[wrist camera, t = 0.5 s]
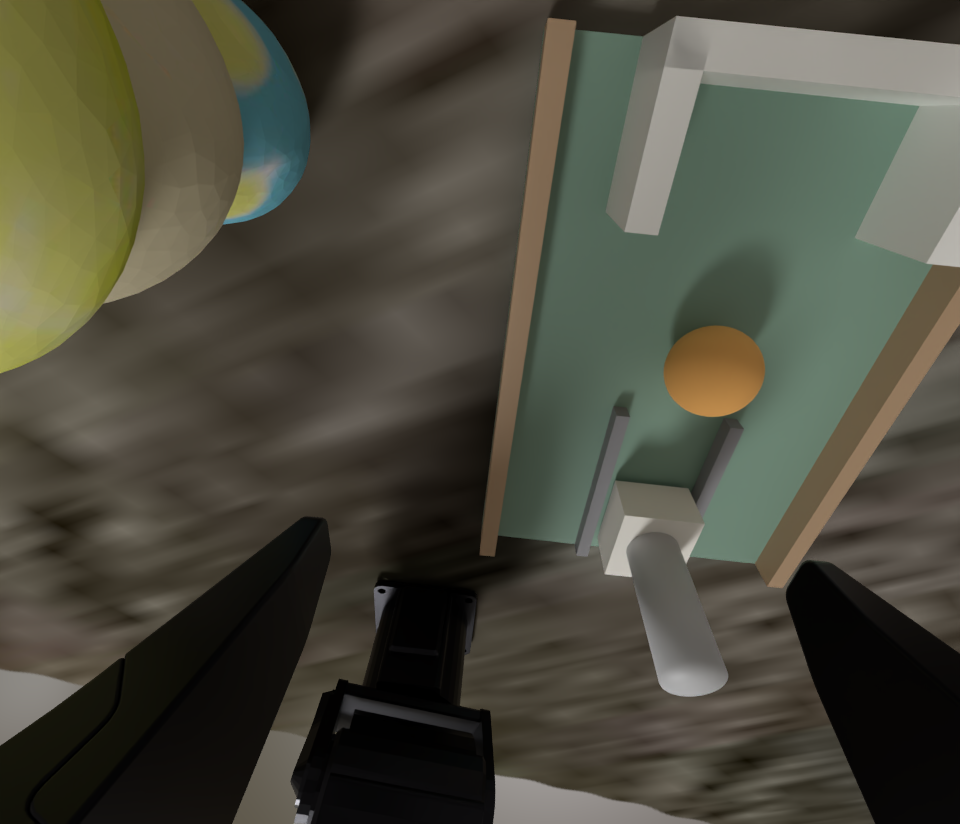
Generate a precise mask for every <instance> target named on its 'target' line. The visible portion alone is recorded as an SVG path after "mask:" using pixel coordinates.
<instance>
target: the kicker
mask: <svg viewBox="0 0 960 824" xmlns="http://www.w3.org/2000/svg"><path fill="white" fill-rule="evenodd" d="M704 525H705V523H704V521H703V519H702V517H701V514H700V512H699V510H698V508H697V506H696V504H695V502H694V499H693V497H692V495H691V493H690V491H689V489H688V488H680V487H671V486H662V485H653V484H643V483H634V482H625V481H616V480H615V483H614V486H613V489H612V492H611V496H610V499H609V502H608V505H607V508H606V512H605V515H604V518H603V521H602V524H601V527H600V531H599V534H598V537H597V538H598V543H599V548H600V553H601V558H602V563H603V569H604V574H609V575H618V576H627V577H632V578H633V582H634V586H635V590H636V594H637V598H638V602H639V606H640V610H641V614H642V617H643V621H644V625H645V629H646V633H647V637H648V641H649V645H650V649H651V653H652V657H653V661H654V665H655V668H656V672H657V676H658V680H659V684H660V686H661V687H662V688H663V689H664V690H665V691H667V692H669V693H671V694H674V695H679V696H701V695H705V694H709V693H712V692H714V691H716V690H718V689H720V688H721V687H722V686H724V685H725V683H726V682H727V680H728V672H727V670H726V667H725V665H724V662H723V659H722V657H721V654H720V652H719V649H718V646H717V644H716V641H715V638H714V636H713V633H712V631H711V628H710V625H709V623H708V620H707V618H706V615H705V612H704V610H703V607H702V604H701V602H700V599H699V597H698V594H697V591H696V589H695V586H694V584H693V581H692V578H691V576H690V573H689V570H688V568H687V565H686V563H687V561H688V559H689V556H690V554H691V552H692V550H693V548H694V546H695V544H696V542H697V540H698V538H699V536H700V534H701V531H702V529H703V527H704Z"/></svg>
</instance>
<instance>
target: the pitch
mask: <svg viewBox="0 0 960 824" xmlns="http://www.w3.org/2000/svg"><path fill="white" fill-rule="evenodd" d="M575 28H576V21H574V20H564V19H554V18H548V19H547V22H546V25H545V28H544V32H543V40H542V48H541V56H540V64H539V72H538V80H537V88H536V96H535V104H534V112H533V120H532V128H531V136H530V144H529V152H528V160H527V168H526V176H525V184H524V192H523V200H522V208H521V216H520V224H519V232H518V240H517V248H516V256H515V264H514V272H513V280H512V288H511V296H510V304H509V312H508V320H507V328H506V336H505V344H504V352H503V360H502V368H501V376H500V384H499V392H498V400H497V408H496V416H495V424H494V432H493V440H492V448H491V456H490V464H489V472H488V480H487V488H486V496H485V504H484V512H483V520H482V530H481V543H480V555H484V556H493V557H495V551H496V544H497V538H498V536H507V537H516V538H525V539H534V540H543V541H553V542H562V543H571V544H575V550H576V555H578V556H588V553H589V549H590V546H598V547H599V543H598V538H597V537H598V534H599V531H600V527H601V524H602V521H603V518H604V515H605V512H606V508H607V505H608V502H609V499H610V496H611V492H612V489H613V486H614V483H615V480H616V481H625V482H634V483H643V484H653V485H662V486H671V487H680V488H688V489H689V491H690V493H691V495H692V497H693V499H694V502H695V504H696V506H697V508H698V510H699V512H700V514H701V517H702V519H703V521H704V523H705V525H704V527H703V529H702V531H701V534H700V536H699V538H698V540H697V542H696V544H695V546H694V548H693V550H692V552H691V554H690V557H699V558H709V559H718V560H727V561H736V562H745V563H754V564H755V565H756V567H757V568H758V570H759V572H760V574H761V576H762V578H763V580H764V582H765V583H766V585H767V587H777V588H783V586H784V585H785V583H786V582H787V580H788V579H789V577H790V576H791V574H792V573H793V571H794V570H795V569H796V567H797V566H798V564H799V563H800V561H801V560H802V558H803V557H804V555H805V554H806V552H807V551H808V549H809V548H810V546H811V545H812V543H813V542H814V540H815V539H816V537H817V536H818V534H819V533H820V531H821V530H822V528H823V527H824V525H825V524H826V522H827V521H828V519H829V518H830V516H831V515H832V513H833V512H834V510H835V509H836V507H837V506H838V504H839V503H840V501H841V500H842V498H843V497H844V495H845V494H846V492H847V491H848V489H849V488H850V486H851V485H852V483H853V482H854V481H855V479H856V478H857V476H858V475H859V473H860V472H861V470H862V469H863V467H864V466H865V464H866V463H867V461H868V460H869V458H870V457H871V455H872V454H873V452H874V451H875V449H876V448H877V446H878V445H879V443H880V442H881V440H882V439H883V437H884V436H885V434H886V433H887V431H888V430H889V428H890V427H891V425H892V424H893V422H894V421H895V419H896V418H897V416H898V415H899V413H900V412H901V410H902V409H903V407H904V406H905V404H906V403H907V401H908V400H909V398H910V397H911V395H912V394H913V393H914V391H915V390H916V388H917V387H918V385H919V384H920V382H921V381H922V379H923V378H924V376H925V375H926V373H927V372H928V370H929V369H930V367H931V366H932V364H933V363H934V361H935V360H936V358H937V357H938V355H939V354H940V352H941V351H942V349H943V348H944V346H945V345H946V343H947V342H948V340H949V339H950V337H951V336H952V334H953V333H954V331H955V330H956V328H957V327H958V325H959V324H960V267H953V266H944V265H934V264H926V263H923V262H920V261H917V260H915V259H912V258H909V257H906V256H903V255H901V254H898V253H895V252H892V251H889V250H887V249H884V248H881V247H878V246H875V245H873V244H870V243H867V242H864V241H862V240H859V239H856V238H855V236H856V234H857V232H858V230H859V228H860V226H861V224H862V222H863V219H864V217H865V215H866V213H867V211H868V209H869V207H870V205H871V203H872V201H873V199H874V197H875V195H876V193H877V191H878V189H879V187H880V185H881V183H882V181H883V179H884V177H885V175H886V173H887V171H888V169H889V167H890V165H891V163H892V161H893V159H894V157H895V155H896V153H897V150H898V148H899V146H900V144H901V142H902V140H903V138H904V136H905V134H906V132H907V130H908V128H909V126H910V124H911V122H912V120H913V118H914V116H915V114H916V112H917V110H918V108H919V106H915V105H905V104H895V103H886V102H876V101H866V100H857V99H847V98H837V97H827V96H818V95H808V94H798V93H788V92H779V91H769V90H759V89H750V88H740V87H730V86H720V85H711V84H701V83H700V86H699V89H698V93H697V96H696V100H695V104H694V107H693V111H692V114H691V118H690V122H689V125H688V129H687V132H686V136H685V140H684V143H683V147H682V150H681V154H680V158H679V161H678V165H677V168H676V172H675V176H674V179H673V183H672V186H671V190H670V194H669V197H668V201H667V205H666V208H665V212H664V215H663V219H662V223H661V226H660V230H659V233H658V236H657V235H648V234H638V233H629V232H624V231H623V230H622V229H621V228H620V227H619V226H618V225H617V224H616V223H615V222H614V220H613V219H612V218H611V217H610V216H609V215H608V214H607V213H606V212H605V211H606V207H607V202H608V198H609V193H610V188H611V184H612V179H613V174H614V170H615V165H616V160H617V156H618V151H619V146H620V142H621V137H622V132H623V128H624V123H625V118H626V114H627V109H628V104H629V100H630V95H631V90H632V86H633V81H634V76H635V72H636V67H637V62H638V58H639V53H640V48H641V44H642V39H643V37H642V36H633V35H623V34H613V33H603V32H593V31H584V30H575ZM715 325H716V326H726V327H731V328H734V329H737V330H739V331H741V332H743V333H744V334H746V335H747V336H749V337H750V338H751V339H752V340H753V341H754V342H755V343H756V344H757V346H758V347H759V349H760V351H761V353H762V355H763V358H764V363H765V376H764V381H763V384H762V386H761V388H760V390H759V392H758V394H757V395H756V396H755V398H754V399H753V400H752V401H751V402H750V403H749V404H748V405H746V406H745V407H744V408H742V409H740V410H739V411H736V412H734V413H732V414H729V415H725V416H719V417H706V416H700V415H697V414H693V413H691V412H689V411H687V410H685V409H684V408H682V407H681V406H680V405H678V404H677V403H676V402H675V401H674V400H673V398H672V397H671V396H670V394H669V392H668V390H667V388H666V385H665V382H664V364H665V360H666V358H667V355H668V353H669V351H670V350H671V348H672V347H673V345H674V344H675V343H676V342H677V341H678V340H679V339H680V338H681V337H683V336H684V335H686V334H687V333H689V332H691V331H693V330H695V329H698V328H701V327H706V326H715Z"/></svg>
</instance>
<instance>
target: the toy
mask: <svg viewBox="0 0 960 824" xmlns="http://www.w3.org/2000/svg"><path fill="white" fill-rule="evenodd" d="M309 149H310V119H309V112H308V107H307V102H306V98H305V95H304V92H303V89H302V87H301V84H300V81H299V79H298V77H297V74H296V72H295V70H294V68H293V66H292V64H291V62H290V60H289V58H288V56H287V54H286V53H285V51H284V50H283V48H282V47H281V45H280V43H279V42H278V40H277V39H276V37H275V36H274V34H273V33H272V32H271V31H270V29H269V28H268V27H267V26H266V25H265V24H264V22H263V21H262V20H261V19H260V18H259V17H258V16H257V15H256V14H255V13H254V12H253V11H252V10H251V9H250V8H249V7H248V6H247V5H246V4H245V3H244V2H243V1H241V0H0V373H2V372H5V371H8V370H11V369H14V368H17V367H20V366H22V365H24V364H26V363H28V362H31V361H33V360H35V359H37V358H39V357H41V356H43V355H45V354H46V353H48V352H50V351H51V350H53V349H54V348H56V347H58V346H59V345H61V344H62V343H63V342H64V341H65V340H67V339H68V338H69V337H70V336H71V335H73V334H74V333H75V332H76V331H77V330H78V329H80V328H81V327H82V326H83V325H84V324H86V323H87V322H88V321H89V320H90V318H91V317H92V316H93V315H94V314H95V312H96V311H97V310H98V309H99V308H100V307H101V305H102V304H103V303H108V302H112V301H115V300H118V299H121V298H124V297H127V296H130V295H133V294H137V293H139V292H141V291H143V290H145V289H147V288H149V287H152V286H154V285H156V284H158V283H160V282H162V281H164V280H165V279H167V278H168V277H170V276H171V275H173V274H174V273H176V272H177V271H179V270H180V269H182V268H183V267H184V266H186V265H187V264H188V263H189V262H190V261H191V260H193V259H194V258H195V257H196V256H197V255H198V254H199V253H200V252H201V251H202V250H203V249H204V248H205V247H206V245H207V244H208V243H209V242H210V241H211V240H212V238H213V237H214V236H215V235H216V234H217V232H218V231H219V229H220V228H221V226H222V225H223V224H229V223H236V222H243V221H247V220H250V219H253V218H256V217H259V216H261V215H264V214H266V213H267V212H269V211H271V210H273V209H274V208H276V207H277V206H278V205H280V204H281V203H282V202H283V201H284V200H285V199H286V197H287V196H288V195H289V194H290V193H291V192H292V191H293V189H294V188H295V186H296V185H297V183H298V182H299V181H300V179H301V177H302V175H303V172H304V170H305V167H306V164H307V159H308V155H309Z"/></svg>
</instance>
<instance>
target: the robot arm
mask: <svg viewBox="0 0 960 824" xmlns="http://www.w3.org/2000/svg"><path fill="white" fill-rule="evenodd" d="M330 556H331V545H330V538H329V531H328V524H327V521H326V519H324V518H320V517H308V516H306V517H303V518H301V519H300V520H298V521H297V522H296V523H294V524H293V525H292V526H290V527H289V528H288V529H287V530H285V531H284V532H283V533H281V534H280V535H279V536H278V537H276V538H275V539H274V540H272V541H271V542H270V543H269V544H267V545H266V546H265V547H263V548H262V549H261V550H259V551H258V552H257V553H256V554H254V555H253V556H252V557H250V558H249V559H248V560H247V561H245V562H244V563H243V564H241V565H240V566H239V567H238V568H236V569H235V570H234V571H232V572H231V573H230V574H229V575H227V576H226V577H225V578H223V579H222V580H221V581H219V582H218V583H217V584H216V585H214V586H213V587H212V588H210V589H209V590H208V591H207V592H205V593H204V594H203V595H201V596H200V597H199V598H198V599H196V600H195V601H194V602H192V603H191V604H190V605H188V606H187V607H186V608H185V609H183V610H182V611H181V612H179V613H178V614H177V615H176V616H174V617H173V618H172V619H170V620H169V621H168V622H167V623H165V624H164V625H163V626H161V627H160V628H159V629H157V630H156V631H155V632H154V633H152V634H151V635H150V636H148V637H147V638H146V639H145V640H143V641H142V642H141V643H139V644H138V645H137V646H136V647H134V648H133V649H132V650H130V651H129V652H128V653H127V654H126V655H125V659H124V658H120V659H118V660H117V661H116V662H115V663H113V664H112V665H111V666H109V667H108V668H107V669H106V670H104V671H103V672H102V673H100V674H99V675H98V676H97V677H95V678H94V679H93V680H91V681H90V682H89V683H87V684H86V685H85V686H83V687H82V688H81V689H79V690H78V691H77V692H75V693H74V694H72V695H71V696H70V697H68V698H67V699H66V700H64V701H63V702H62V703H61V704H59V705H58V706H56V707H55V708H54V709H52V710H51V711H49V712H48V713H47V714H45V715H44V716H42V717H41V718H39V719H38V720H37V721H35V722H34V723H32V724H31V725H29V726H28V727H27V728H25V729H24V730H22V731H21V732H19V733H18V734H17V735H15V736H14V737H12V738H11V739H9V740H8V741H6V742H5V743H4V744H2V745H1V746H0V824H232V823H233V820H234V818H235V815H236V813H237V810H238V808H239V805H240V803H241V800H242V798H243V796H244V793H245V791H246V788H247V786H248V783H249V781H250V778H251V775H252V774H253V771H254V769H255V766H256V764H257V761H258V759H259V756H260V754H261V751H262V749H263V746H264V744H265V742H266V739H267V737H268V734H269V732H270V729H271V727H272V724H273V722H274V720H275V717H276V715H277V712H278V710H279V707H280V705H281V702H282V700H283V697H284V695H285V692H286V690H287V688H288V685H289V683H290V680H291V678H292V675H293V673H294V670H295V668H296V665H297V663H298V661H299V658H300V656H301V653H302V651H303V648H304V645H305V643H306V640H307V637H308V634H309V631H310V628H311V624H312V621H313V617H314V614H315V610H316V607H317V603H318V600H319V596H320V593H321V589H322V586H323V582H324V579H325V575H326V572H327V568H328V565H329V561H330ZM786 600H787V604H788V607H789V610H790V613H791V616H792V619H793V622H794V625H795V628H796V632H797V635H798V638H799V641H800V644H801V647H802V650H803V653H804V656H805V659H806V662H807V665H808V668H809V671H810V674H811V676H812V679H813V682H814V685H815V687H816V690H817V692H818V694H819V697H820V699H821V701H822V704H823V706H824V708H825V711H826V713H827V715H828V717H829V720H830V722H831V724H832V727H833V729H834V731H835V733H836V736H837V738H838V740H839V743H840V745H841V747H842V749H843V752H844V754H845V756H846V758H847V761H848V763H849V765H850V768H851V770H852V772H853V774H854V777H855V779H856V781H857V784H858V786H859V788H860V790H861V793H862V795H863V797H864V800H865V802H866V804H867V806H868V809H869V811H870V813H871V816H872V818H873V820H874V822H875V824H960V653H958V652H957V651H955V650H954V649H953V648H951V647H950V646H948V645H947V644H946V643H944V642H943V641H941V640H940V639H938V638H937V637H936V636H934V635H933V634H931V633H930V632H929V631H927V630H926V629H924V628H923V627H921V626H920V625H919V624H917V623H916V622H914V621H913V620H912V619H910V618H909V617H907V616H906V615H904V614H903V613H902V612H900V611H899V610H897V609H896V608H895V607H893V606H892V605H890V604H889V603H887V602H886V601H885V600H883V599H882V598H880V597H879V596H878V595H876V594H875V593H873V592H872V591H870V590H869V589H868V588H866V587H865V586H863V585H862V584H861V583H859V582H858V581H856V580H855V579H853V578H852V577H851V576H849V575H848V574H846V573H845V572H844V571H842V570H841V569H839V568H838V567H836V566H835V565H834V564H832V563H829V562H824V561H813V560H807V561H805V562H803V563H802V564H801V565H800V567H799V569H798V570H797V572H796V574H795V575H794V577H793V579H792V580H791V582H790V584H789V585H788V587H787V590H786ZM374 601H375V620H376V637H375V640H374V644H373V648H372V652H371V655H370V659H369V663H368V667H367V670H366V674H365V678H364V681H363V685H357V684H353V683H348V680H343V679H339V680H338V683H337V686H336V689H335V690H333V691H329V692H325V693H323V694H322V697H321V700H320V703H319V706H318V709H317V712H316V715H315V718H314V721H313V723H312V726H311V729H310V731H309V734H308V736H307V739H306V742H305V744H304V746H303V749H302V751H301V754H300V756H299V759H298V761H297V764H296V766H295V769H294V772H293V775H292V778H291V785H292V787H293V790H294V792H295V794H296V797H297V799H296V803H295V808H298V810H297V813H296V817H295V821H294V824H493V818H494V808H495V774H494V760H493V745H492V730H491V715H490V711H489V710H485V709H480V710H476V709H471V708H466V707H462V706H460V698H461V687H462V676H463V666H464V655H466V654H468V653H469V652H470V647H471V640H472V632H473V625H474V617H475V610H476V602H477V594H476V593H475V592H474V591H471V590H463V589H454V588H445V587H436V586H426V585H417V584H408V583H399V582H390V581H378V582H377V583H376V585H375V588H374ZM335 732H337V733H336V734H335Z"/></svg>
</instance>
